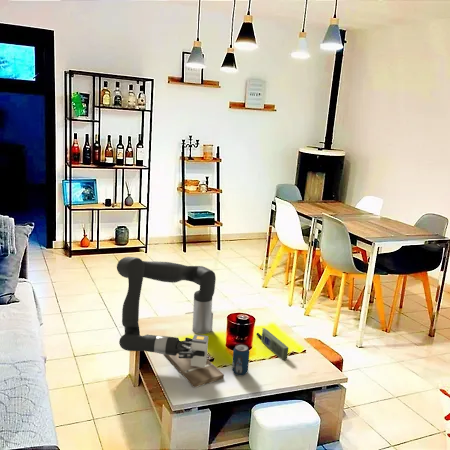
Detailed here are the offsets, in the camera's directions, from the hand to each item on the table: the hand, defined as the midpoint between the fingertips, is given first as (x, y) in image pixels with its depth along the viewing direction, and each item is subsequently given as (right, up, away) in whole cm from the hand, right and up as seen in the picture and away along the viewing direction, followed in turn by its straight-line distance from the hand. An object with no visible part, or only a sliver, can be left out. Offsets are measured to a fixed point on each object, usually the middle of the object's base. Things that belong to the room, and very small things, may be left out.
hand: (205, 350), depth 199 cm
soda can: (+15, -11, +5) cm, 19 cm away
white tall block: (-3, -6, +2) cm, 7 cm away
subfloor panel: (-6, -9, +8) cm, 13 cm away
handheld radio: (+30, -6, +27) cm, 41 cm away
